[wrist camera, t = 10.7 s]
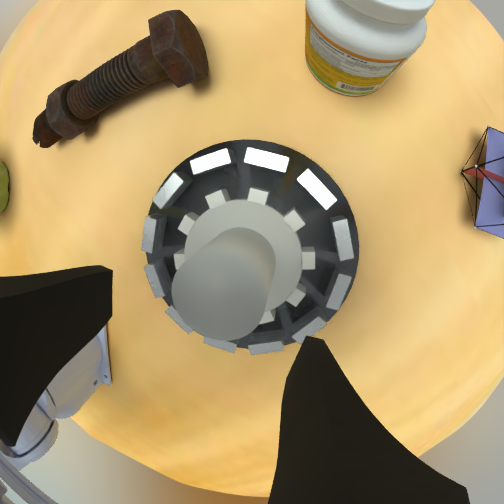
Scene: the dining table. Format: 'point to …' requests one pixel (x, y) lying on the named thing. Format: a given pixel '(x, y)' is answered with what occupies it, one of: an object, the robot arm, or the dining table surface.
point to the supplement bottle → (362, 40)
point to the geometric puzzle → (490, 185)
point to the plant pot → (3, 186)
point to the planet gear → (238, 265)
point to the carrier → (281, 197)
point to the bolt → (125, 77)
